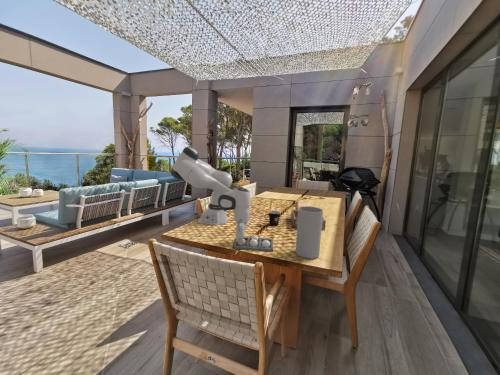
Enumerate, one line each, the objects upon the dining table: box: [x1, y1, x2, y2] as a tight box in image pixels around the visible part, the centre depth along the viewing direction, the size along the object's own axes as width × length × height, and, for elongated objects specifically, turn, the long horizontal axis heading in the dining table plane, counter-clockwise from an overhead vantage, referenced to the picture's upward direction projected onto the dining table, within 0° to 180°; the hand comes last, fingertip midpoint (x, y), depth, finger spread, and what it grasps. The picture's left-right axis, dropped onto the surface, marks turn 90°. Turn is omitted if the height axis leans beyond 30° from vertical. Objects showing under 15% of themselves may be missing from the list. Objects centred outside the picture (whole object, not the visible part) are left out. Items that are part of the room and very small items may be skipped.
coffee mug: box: [263, 210, 281, 227], centre depth 167 cm, size 12×9×10 cm
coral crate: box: [290, 209, 327, 231], centre depth 173 cm, size 22×25×7 cm
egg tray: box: [232, 236, 274, 252], centre depth 129 cm, size 22×15×2 cm
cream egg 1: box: [251, 234, 259, 241], centre depth 132 cm, size 5×5×5 cm
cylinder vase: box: [295, 205, 324, 260], centre depth 119 cm, size 12×12×25 cm
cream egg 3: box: [262, 240, 270, 248], centre depth 125 cm, size 5×5×5 cm
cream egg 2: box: [250, 239, 258, 247], centre depth 126 cm, size 5×5×5 cm
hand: (241, 240), depth 126 cm, fingers open, 8 cm apart
